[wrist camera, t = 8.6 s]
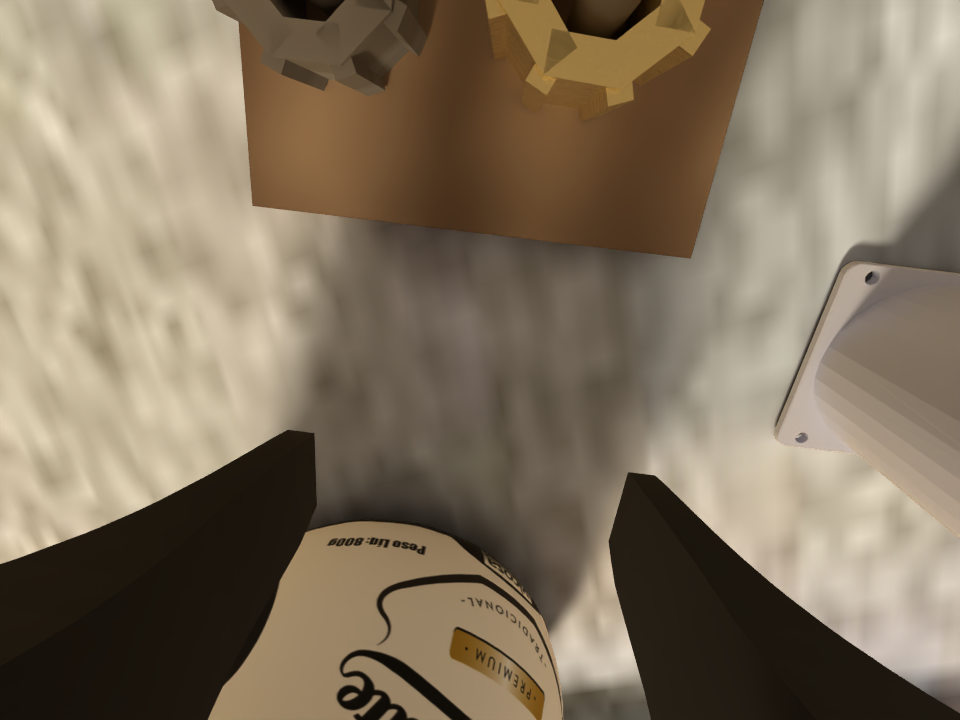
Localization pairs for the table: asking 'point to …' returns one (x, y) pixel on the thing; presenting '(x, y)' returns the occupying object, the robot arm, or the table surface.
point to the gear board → (478, 123)
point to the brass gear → (591, 51)
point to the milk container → (394, 634)
